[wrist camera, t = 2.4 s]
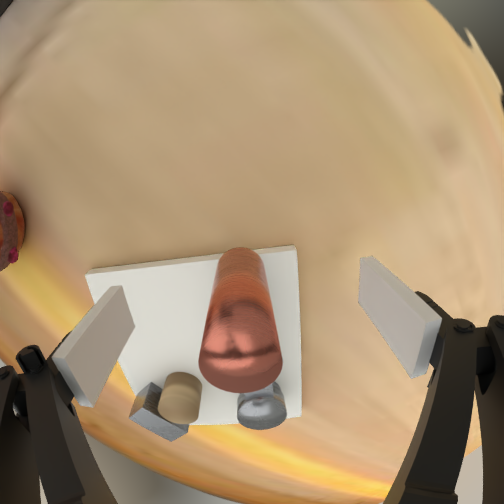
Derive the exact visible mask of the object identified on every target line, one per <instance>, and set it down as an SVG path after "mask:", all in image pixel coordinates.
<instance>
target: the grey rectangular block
mask: <svg viewBox="0 0 504 504" xmlns="http://www.w3.org/2000/svg"><path fill="white" fill-rule="evenodd" d="M162 390H163V389H162V388H160V387H159V386H157V385H155V384H154V383H152V382H150V383H149V384H148V385H147V386H146V387H144V388H143V389H142V390H141V391H140V392H139V393H138V394H137V396H136V399H135V401H134V404H133V407H132V410H131V413H130V415H129V419H131V420H132V421H134V422H136V423H137V424H139V425H141V426H143V427H144V428H146V429H148V430H150V431H152V432H153V433H155V434H157V435H159V436H161V437H163V438H165V439H167V440H169V441H171V442H172V441H173V440H175V439H177V438H179V437H181V436H182V435H184V434H186V433H188V428H189V424H177V423H173V422H171V421H168V420H167V419H165V418H164V417H162V416H161V415H160V413H159V411H158V405H159V401H160V397H161V394H162Z"/></svg>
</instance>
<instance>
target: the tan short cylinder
mask: <svg viewBox="0 0 504 504" xmlns="http://www.w3.org/2000/svg"><path fill="white" fill-rule="evenodd" d="M201 394H202V383H201V382H200V380H199V379H198V378H197V377H195V376H194V375H192V374H189V373H186V372H174V373H171V374H169V375H168V376H167V377H166V380H165V383H164V387H163V390H162V394H161V397H160V401H159V405H158V411H159V413H160V415H161V416H162V417H164V418H165V419H167V420H168V421H171V422H173V423H177V424H190V423H193V422H195V421H196V420H197V419H198V416H199V409H200V402H201Z"/></svg>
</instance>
